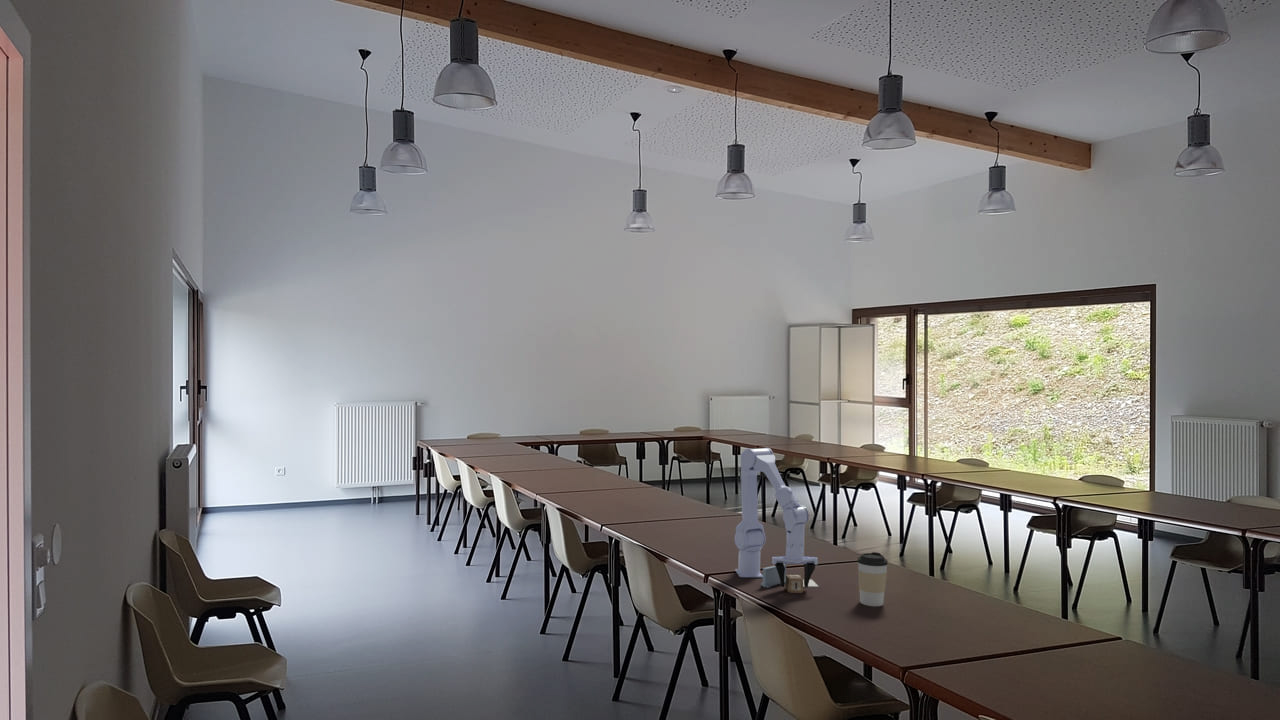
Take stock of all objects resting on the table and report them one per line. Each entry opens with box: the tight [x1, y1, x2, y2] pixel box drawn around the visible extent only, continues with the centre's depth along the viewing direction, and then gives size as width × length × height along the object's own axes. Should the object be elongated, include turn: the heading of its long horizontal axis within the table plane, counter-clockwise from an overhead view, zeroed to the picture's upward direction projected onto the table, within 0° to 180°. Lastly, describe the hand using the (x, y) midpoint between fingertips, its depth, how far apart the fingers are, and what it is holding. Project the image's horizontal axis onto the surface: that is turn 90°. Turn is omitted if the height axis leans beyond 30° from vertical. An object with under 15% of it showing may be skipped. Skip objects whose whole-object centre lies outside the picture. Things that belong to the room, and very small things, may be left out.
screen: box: [760, 564, 787, 589], centre depth 276 cm, size 3×10×6 cm, turn 129°
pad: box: [803, 578, 819, 588], centre depth 278 cm, size 8×8×1 cm
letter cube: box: [784, 574, 804, 594], centre depth 269 cm, size 5×5×5 cm
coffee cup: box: [856, 551, 889, 607], centre depth 258 cm, size 9×9×15 cm
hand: (794, 586), depth 270 cm, fingers open, 7 cm apart
